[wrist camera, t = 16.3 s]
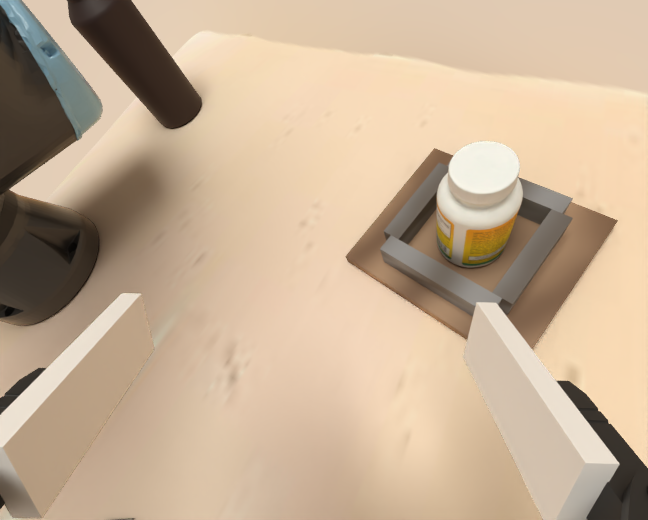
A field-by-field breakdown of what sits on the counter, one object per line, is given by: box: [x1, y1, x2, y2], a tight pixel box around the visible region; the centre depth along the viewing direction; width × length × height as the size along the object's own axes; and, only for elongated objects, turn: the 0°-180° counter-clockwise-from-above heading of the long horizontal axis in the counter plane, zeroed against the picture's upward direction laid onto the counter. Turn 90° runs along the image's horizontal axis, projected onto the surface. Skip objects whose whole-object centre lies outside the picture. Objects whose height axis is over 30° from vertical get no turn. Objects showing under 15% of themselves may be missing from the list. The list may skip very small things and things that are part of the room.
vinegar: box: [67, 0, 201, 128], centre depth 43 cm, size 7×7×20 cm
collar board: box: [346, 148, 618, 349], centre depth 29 cm, size 16×14×4 cm
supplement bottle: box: [436, 141, 523, 268], centre depth 26 cm, size 5×5×10 cm
